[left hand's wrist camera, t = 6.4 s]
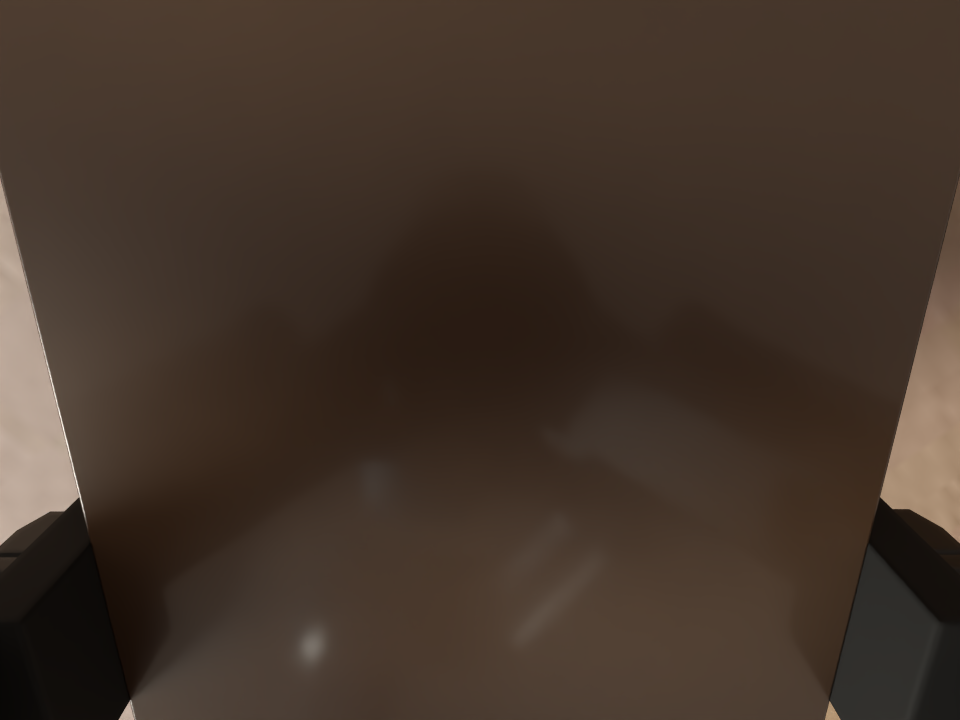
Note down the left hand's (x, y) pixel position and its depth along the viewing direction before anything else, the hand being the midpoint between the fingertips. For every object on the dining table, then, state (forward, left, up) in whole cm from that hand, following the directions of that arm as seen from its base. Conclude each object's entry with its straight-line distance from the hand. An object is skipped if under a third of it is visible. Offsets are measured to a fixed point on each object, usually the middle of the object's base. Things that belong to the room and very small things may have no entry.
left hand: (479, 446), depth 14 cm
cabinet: (+5, -1, -5) cm, 7 cm away
